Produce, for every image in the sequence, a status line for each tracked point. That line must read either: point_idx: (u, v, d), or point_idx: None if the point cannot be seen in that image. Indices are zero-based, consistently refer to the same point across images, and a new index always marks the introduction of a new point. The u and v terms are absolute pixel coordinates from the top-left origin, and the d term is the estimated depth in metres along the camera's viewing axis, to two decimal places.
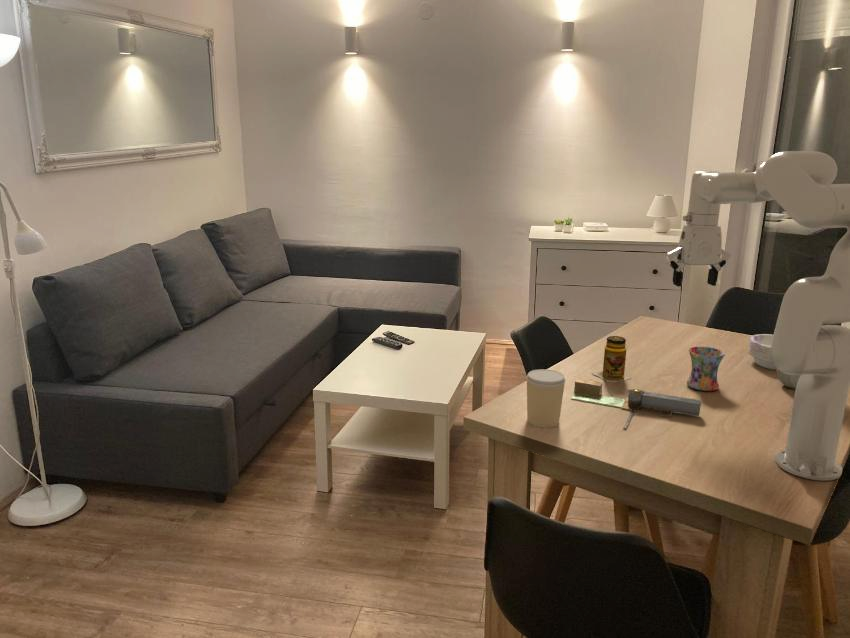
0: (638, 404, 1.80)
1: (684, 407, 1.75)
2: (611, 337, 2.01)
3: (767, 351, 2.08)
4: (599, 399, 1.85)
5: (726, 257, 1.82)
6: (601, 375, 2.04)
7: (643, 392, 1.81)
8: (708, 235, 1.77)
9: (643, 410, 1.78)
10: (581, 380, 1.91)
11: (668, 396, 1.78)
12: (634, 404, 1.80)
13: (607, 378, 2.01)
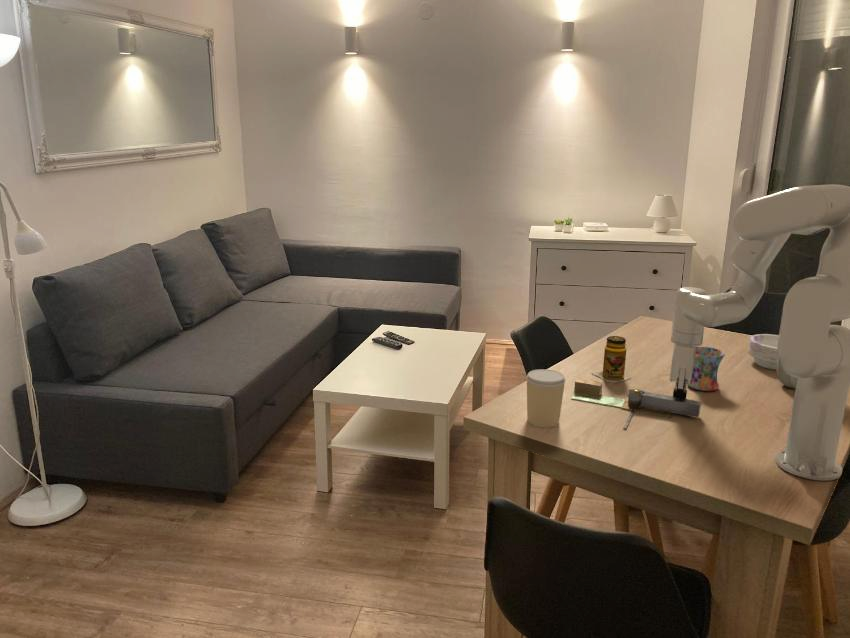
0: (638, 404, 1.80)
1: (683, 408, 1.75)
2: (611, 337, 2.01)
3: (767, 351, 2.08)
4: (599, 399, 1.85)
5: (678, 386, 1.75)
6: (601, 375, 2.04)
7: (643, 392, 1.81)
8: (673, 349, 1.77)
9: (643, 410, 1.78)
10: (581, 380, 1.91)
11: (667, 397, 1.78)
12: (634, 404, 1.80)
13: (607, 378, 2.01)
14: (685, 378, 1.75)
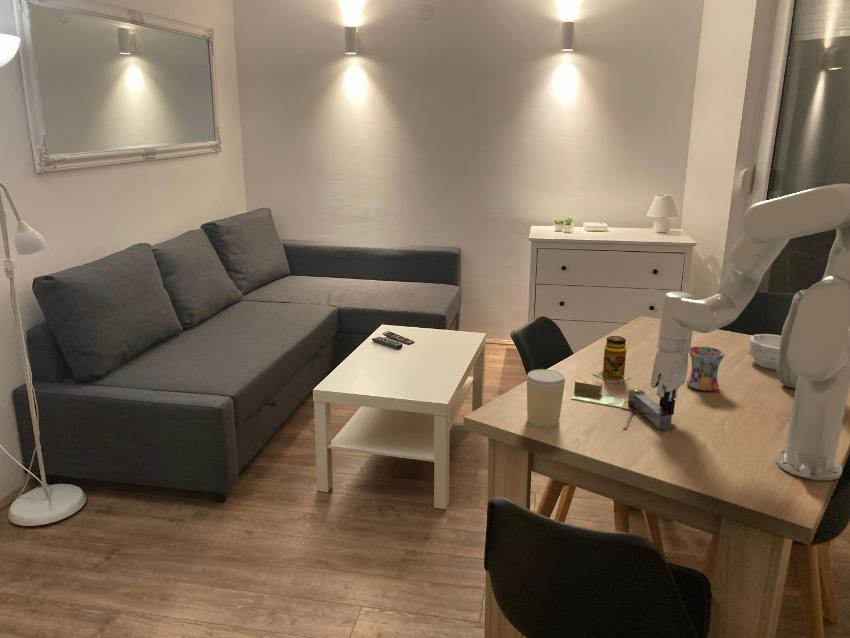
0: (631, 403, 1.81)
1: (653, 416, 1.70)
2: (611, 337, 2.01)
3: (767, 351, 2.08)
4: (599, 399, 1.85)
5: None
6: (601, 375, 2.04)
7: (642, 394, 1.80)
8: None
9: None
10: (581, 380, 1.91)
11: (651, 403, 1.74)
12: (628, 402, 1.81)
13: (607, 378, 2.01)
14: None
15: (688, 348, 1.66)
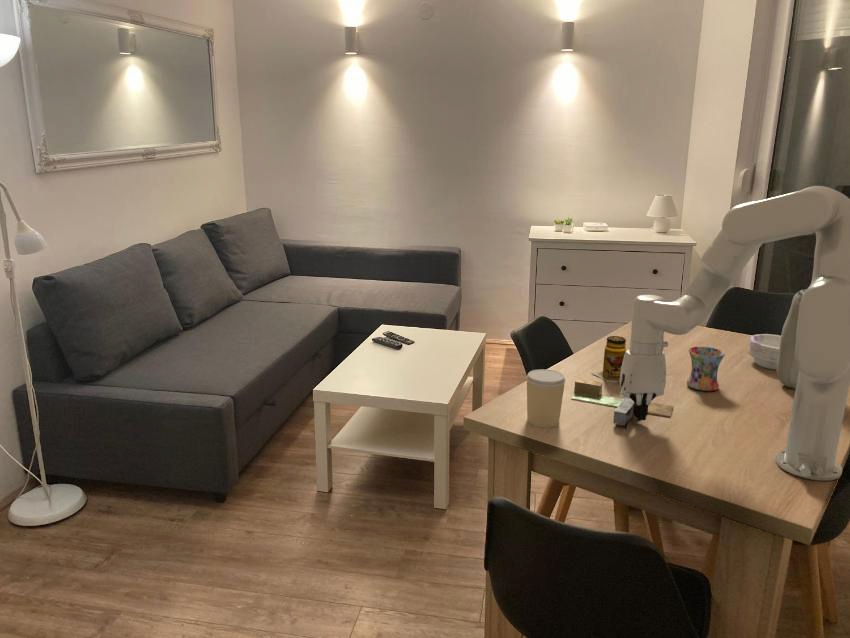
0: None
1: None
2: (611, 337, 2.01)
3: (767, 351, 2.08)
4: (599, 399, 1.85)
5: None
6: (601, 375, 2.04)
7: None
8: None
9: None
10: (581, 380, 1.91)
11: (629, 401, 1.75)
12: None
13: (607, 378, 2.01)
14: None
15: (651, 352, 1.63)
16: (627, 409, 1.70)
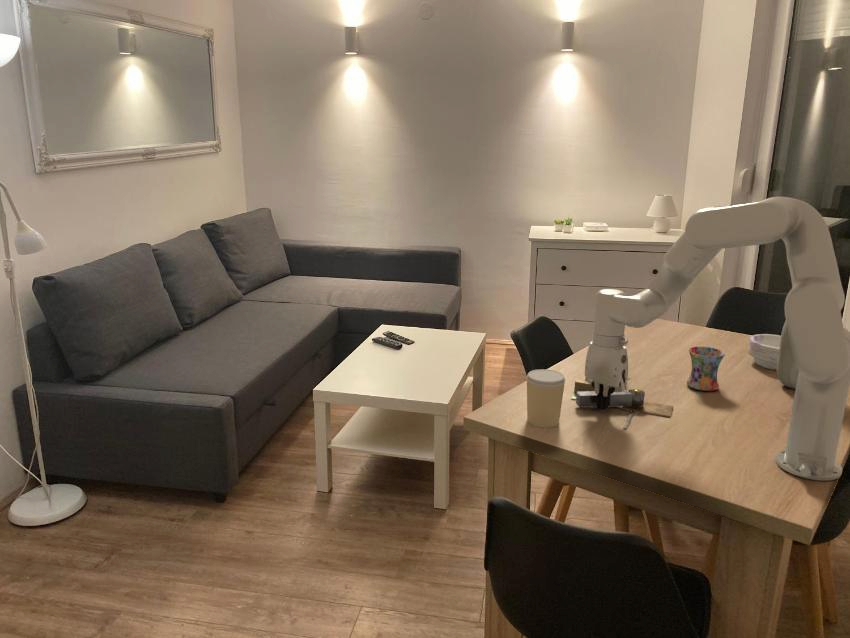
0: None
1: None
2: None
3: (767, 351, 2.08)
4: None
5: None
6: None
7: (631, 393, 1.80)
8: None
9: (643, 410, 1.78)
10: (581, 380, 1.91)
11: None
12: None
13: None
14: None
15: (598, 343, 1.70)
16: (589, 394, 1.79)
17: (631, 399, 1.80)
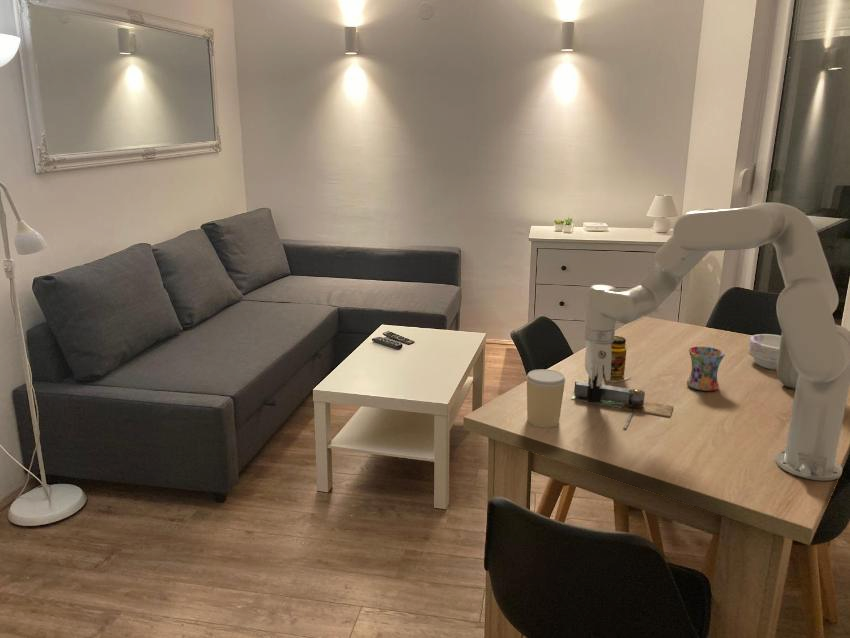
0: None
1: None
2: None
3: (767, 351, 2.08)
4: None
5: None
6: None
7: (629, 391, 1.81)
8: None
9: (643, 410, 1.78)
10: (581, 380, 1.91)
11: (606, 387, 1.84)
12: None
13: None
14: None
15: (584, 334, 1.77)
16: (585, 385, 1.85)
17: (628, 397, 1.81)
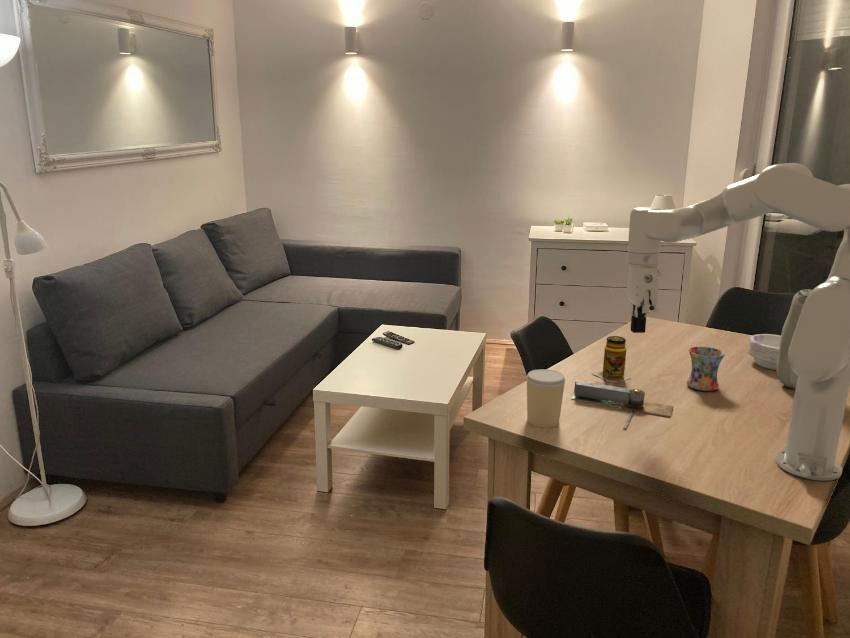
0: None
1: None
2: (611, 337, 2.01)
3: (767, 351, 2.08)
4: (599, 399, 1.85)
5: None
6: (601, 375, 2.04)
7: (629, 391, 1.81)
8: None
9: (643, 410, 1.78)
10: (581, 380, 1.91)
11: (606, 387, 1.84)
12: None
13: (607, 378, 2.01)
14: None
15: (627, 260, 1.70)
16: (585, 385, 1.85)
17: (628, 397, 1.81)
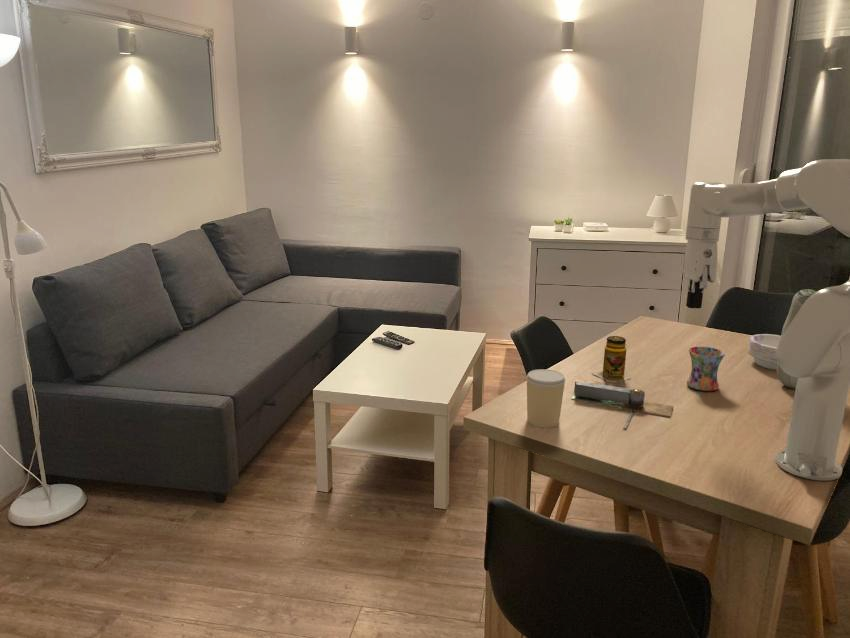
0: None
1: None
2: (611, 337, 2.01)
3: (767, 351, 2.08)
4: (599, 399, 1.85)
5: None
6: (601, 375, 2.04)
7: (629, 391, 1.81)
8: None
9: (643, 410, 1.78)
10: (581, 380, 1.91)
11: (606, 387, 1.84)
12: None
13: (607, 378, 2.01)
14: None
15: (686, 234, 1.69)
16: (585, 385, 1.85)
17: (628, 397, 1.81)
